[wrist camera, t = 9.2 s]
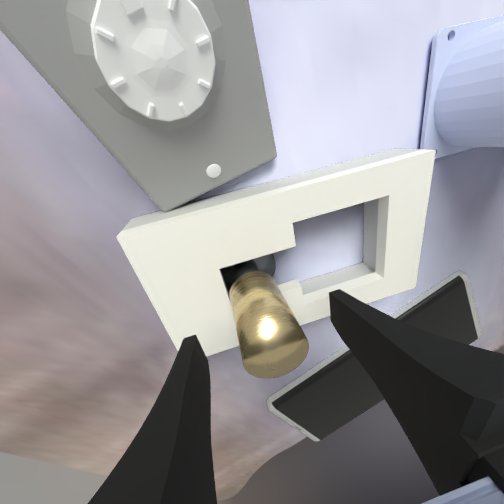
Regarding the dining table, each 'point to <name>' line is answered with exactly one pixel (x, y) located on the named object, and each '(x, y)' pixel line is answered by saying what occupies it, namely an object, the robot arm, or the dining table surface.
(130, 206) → the dining table surface
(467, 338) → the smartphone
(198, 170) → the light switch
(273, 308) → the peg
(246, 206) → the keyhole board
